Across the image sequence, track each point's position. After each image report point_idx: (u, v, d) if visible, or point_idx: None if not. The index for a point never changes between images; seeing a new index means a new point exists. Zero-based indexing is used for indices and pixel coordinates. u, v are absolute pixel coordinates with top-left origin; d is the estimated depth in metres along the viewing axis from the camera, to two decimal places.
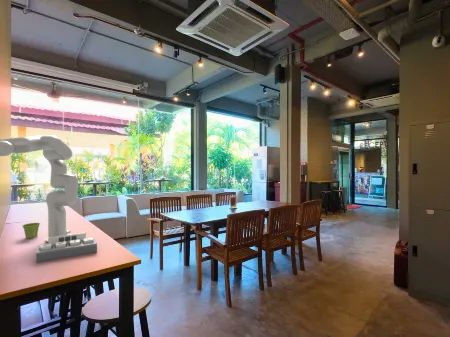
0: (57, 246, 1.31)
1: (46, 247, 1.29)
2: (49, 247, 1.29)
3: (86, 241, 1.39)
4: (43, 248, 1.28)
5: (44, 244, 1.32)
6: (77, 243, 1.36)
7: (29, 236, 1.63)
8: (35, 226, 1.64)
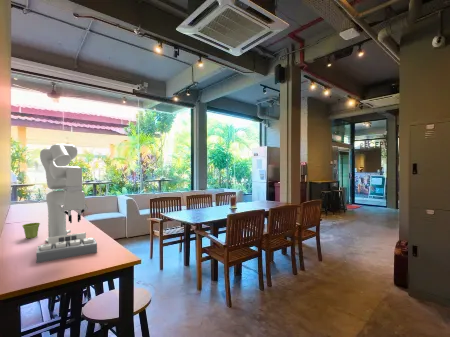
0: (57, 246, 1.31)
1: (46, 247, 1.29)
2: (49, 247, 1.29)
3: (86, 241, 1.39)
4: (43, 248, 1.28)
5: (44, 244, 1.32)
6: (77, 243, 1.36)
7: (29, 236, 1.63)
8: (35, 226, 1.64)
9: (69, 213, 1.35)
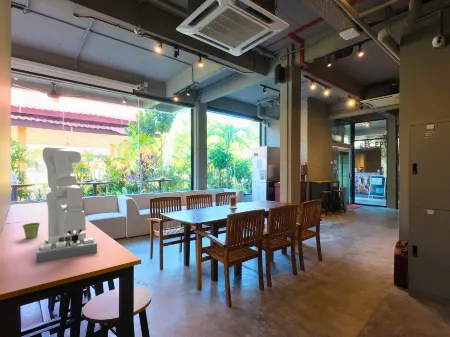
0: (57, 246, 1.31)
1: (46, 247, 1.29)
2: (49, 247, 1.29)
3: (86, 241, 1.39)
4: (43, 248, 1.28)
5: (44, 244, 1.32)
6: (77, 244, 1.36)
7: (29, 236, 1.63)
8: (35, 226, 1.64)
9: (72, 233, 1.36)
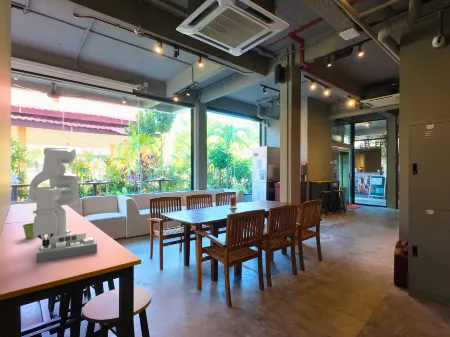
0: (57, 246, 1.31)
1: (46, 249, 1.29)
2: None
3: (86, 241, 1.39)
4: None
5: None
6: None
7: (29, 236, 1.63)
8: None
9: (42, 237, 1.28)
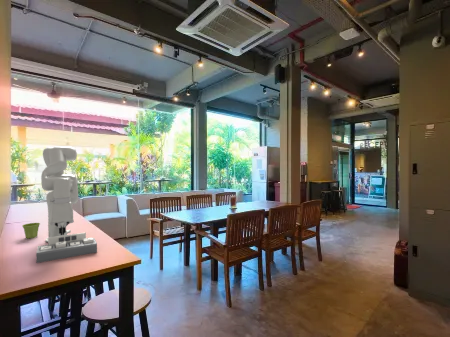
0: (57, 246, 1.31)
1: (46, 249, 1.29)
2: None
3: (86, 241, 1.39)
4: None
5: None
6: None
7: (29, 236, 1.63)
8: (35, 226, 1.64)
9: (59, 225, 1.33)
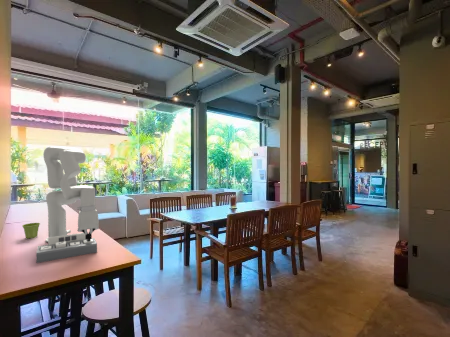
0: (57, 246, 1.31)
1: (46, 249, 1.29)
2: None
3: None
4: None
5: None
6: None
7: (29, 236, 1.63)
8: (35, 226, 1.64)
9: (86, 232, 1.39)
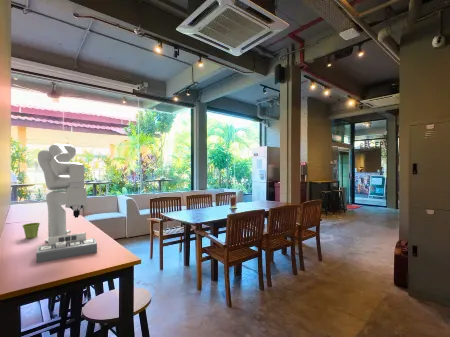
0: (57, 246, 1.31)
1: (46, 249, 1.29)
2: None
3: None
4: None
5: None
6: None
7: (29, 236, 1.63)
8: (35, 226, 1.64)
9: (74, 208, 1.39)
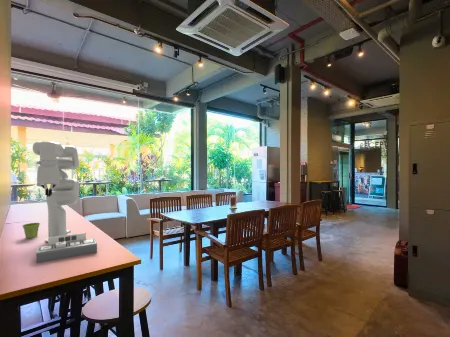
0: (57, 246, 1.31)
1: (46, 249, 1.29)
2: None
3: None
4: None
5: None
6: None
7: (29, 236, 1.63)
8: (35, 226, 1.64)
9: (45, 187, 1.37)
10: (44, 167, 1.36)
